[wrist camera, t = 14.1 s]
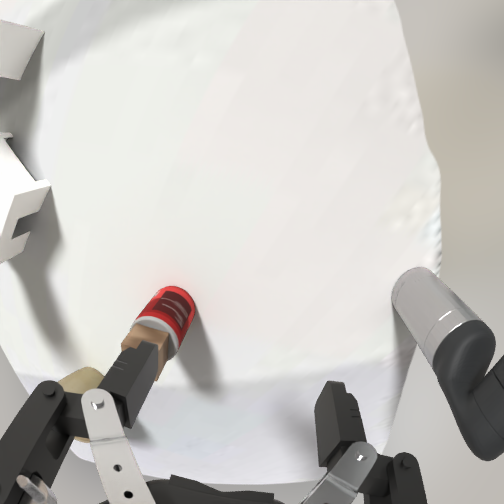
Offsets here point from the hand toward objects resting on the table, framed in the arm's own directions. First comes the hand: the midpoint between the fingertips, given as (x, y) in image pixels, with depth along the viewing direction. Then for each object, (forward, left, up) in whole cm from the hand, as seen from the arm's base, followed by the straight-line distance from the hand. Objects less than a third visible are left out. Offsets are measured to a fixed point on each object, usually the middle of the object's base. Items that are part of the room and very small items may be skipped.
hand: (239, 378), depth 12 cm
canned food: (+12, +18, -32) cm, 39 cm away
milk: (+59, -28, -32) cm, 73 cm away
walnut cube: (+12, +18, -21) cm, 30 cm away
